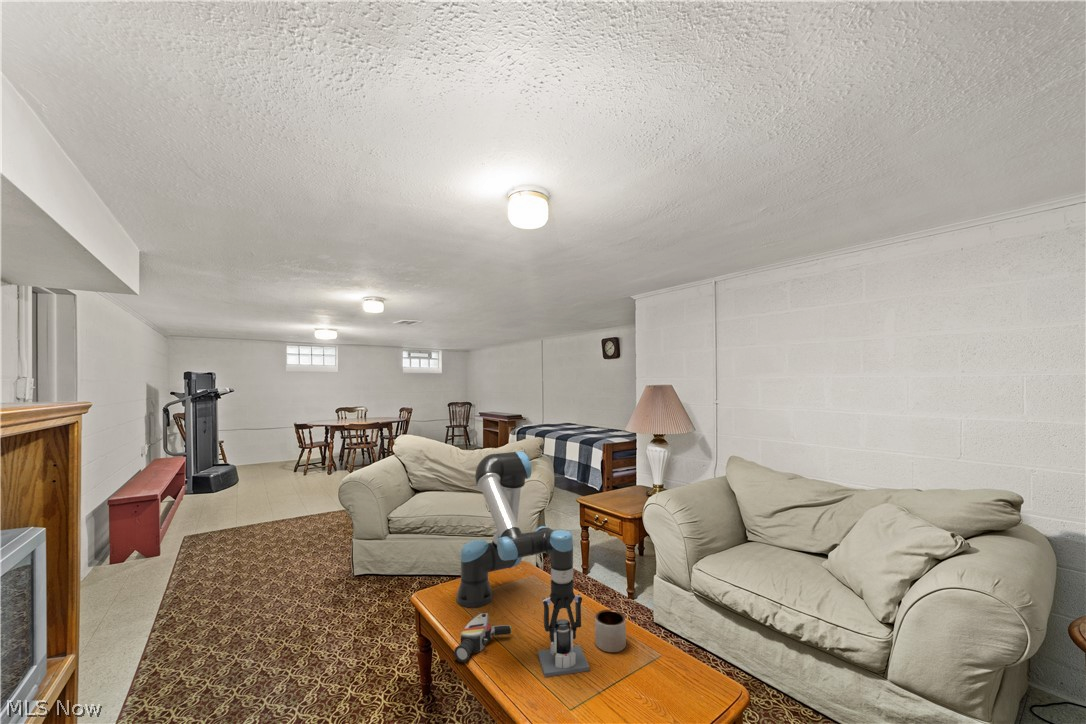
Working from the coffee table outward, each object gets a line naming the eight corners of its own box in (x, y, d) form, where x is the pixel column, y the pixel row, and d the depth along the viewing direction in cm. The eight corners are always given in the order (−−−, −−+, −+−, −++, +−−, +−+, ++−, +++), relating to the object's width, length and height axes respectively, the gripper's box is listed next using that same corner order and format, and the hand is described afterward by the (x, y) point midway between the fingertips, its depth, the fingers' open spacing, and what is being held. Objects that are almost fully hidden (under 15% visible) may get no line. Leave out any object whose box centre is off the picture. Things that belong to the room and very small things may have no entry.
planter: (629, 639, 162) (628, 613, 162) (621, 657, 152) (621, 628, 152) (600, 632, 166) (600, 606, 167) (591, 649, 156) (590, 621, 157)
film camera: (493, 671, 146) (452, 662, 151) (514, 635, 165) (476, 628, 169) (493, 650, 146) (452, 642, 150) (513, 616, 165) (476, 610, 169)
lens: (553, 647, 152) (553, 619, 152) (568, 645, 153) (567, 617, 153) (557, 656, 147) (556, 627, 147) (572, 654, 148) (571, 626, 148)
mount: (537, 654, 154) (537, 639, 154) (579, 648, 157) (579, 634, 157) (544, 677, 142) (544, 661, 142) (589, 670, 145) (589, 655, 145)
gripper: (537, 587, 145) (538, 660, 144) (591, 581, 148) (591, 652, 148) (533, 576, 152) (534, 646, 151) (584, 571, 156) (585, 639, 155)
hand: (562, 649), depth 149 cm, fingers closed on lens, 5 cm apart
